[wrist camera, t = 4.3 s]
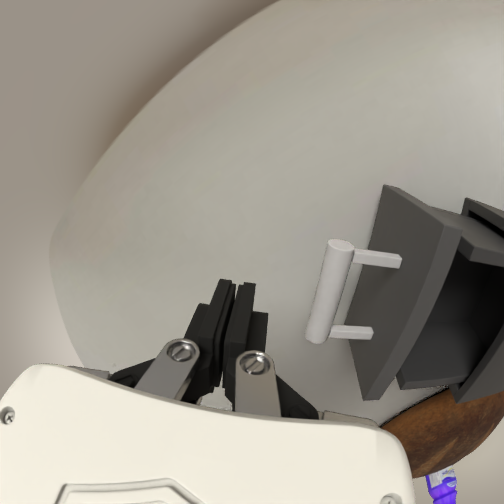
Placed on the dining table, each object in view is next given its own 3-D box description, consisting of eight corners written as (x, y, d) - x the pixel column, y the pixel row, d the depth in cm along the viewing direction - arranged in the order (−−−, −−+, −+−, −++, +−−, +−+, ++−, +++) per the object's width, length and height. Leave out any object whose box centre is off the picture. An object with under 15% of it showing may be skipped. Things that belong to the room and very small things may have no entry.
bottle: (451, 446, 36) (466, 503, 21) (434, 457, 39) (446, 513, 23) (434, 449, 36) (448, 511, 20) (417, 460, 38) (427, 520, 23)
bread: (345, 466, 37) (348, 504, 30) (380, 392, 26) (395, 455, 18) (465, 433, 34) (475, 463, 26) (529, 345, 23) (552, 382, 15)
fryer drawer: (293, 319, 21) (296, 400, 14) (322, 172, 16) (355, 205, 9) (461, 327, 20) (495, 382, 13) (505, 220, 16) (562, 259, 8)
